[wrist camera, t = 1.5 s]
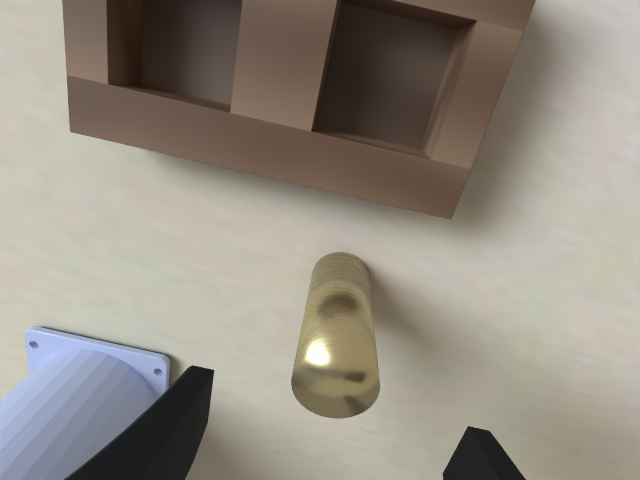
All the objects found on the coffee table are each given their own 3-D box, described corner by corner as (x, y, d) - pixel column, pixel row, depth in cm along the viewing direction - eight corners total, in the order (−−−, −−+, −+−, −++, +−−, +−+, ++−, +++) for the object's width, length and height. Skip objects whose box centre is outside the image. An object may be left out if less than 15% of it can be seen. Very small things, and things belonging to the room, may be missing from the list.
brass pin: (360, 307, 19) (366, 425, 12) (306, 295, 19) (284, 407, 12) (376, 259, 18) (390, 361, 11) (318, 246, 18) (300, 341, 11)
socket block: (433, 196, 16) (451, 219, 13) (118, 123, 16) (69, 131, 13) (510, -19, 13) (552, -46, 10) (116, -114, 13) (52, -168, 10)
